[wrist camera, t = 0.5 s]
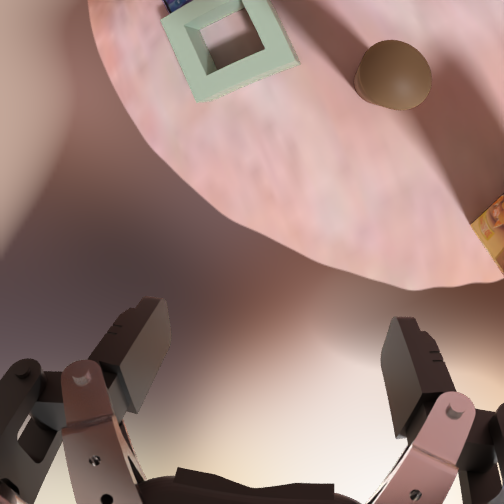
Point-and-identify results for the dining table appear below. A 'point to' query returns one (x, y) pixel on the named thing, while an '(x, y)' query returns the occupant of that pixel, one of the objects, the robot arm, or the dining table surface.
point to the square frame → (238, 73)
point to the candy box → (492, 231)
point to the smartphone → (174, 4)
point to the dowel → (393, 76)
